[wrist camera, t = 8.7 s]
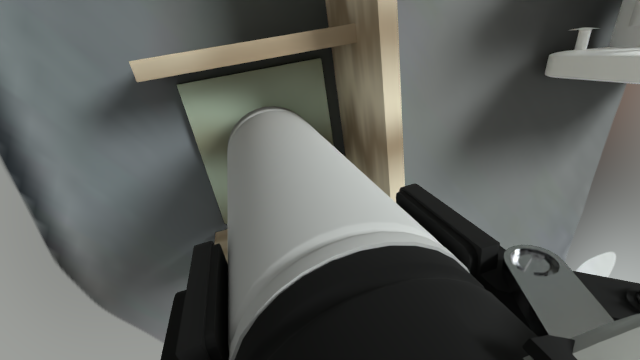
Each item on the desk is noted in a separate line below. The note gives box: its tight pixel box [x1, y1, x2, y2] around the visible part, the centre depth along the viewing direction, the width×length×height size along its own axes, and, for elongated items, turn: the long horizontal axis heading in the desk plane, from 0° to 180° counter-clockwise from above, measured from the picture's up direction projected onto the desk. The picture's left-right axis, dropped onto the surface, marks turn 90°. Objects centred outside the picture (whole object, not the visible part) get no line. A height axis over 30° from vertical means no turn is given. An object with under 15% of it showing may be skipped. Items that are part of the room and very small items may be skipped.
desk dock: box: [129, 0, 405, 263], centre depth 17 cm, size 28×13×8 cm, turn 9°
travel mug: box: [227, 106, 577, 360], centre depth 13 cm, size 6×7×20 cm
